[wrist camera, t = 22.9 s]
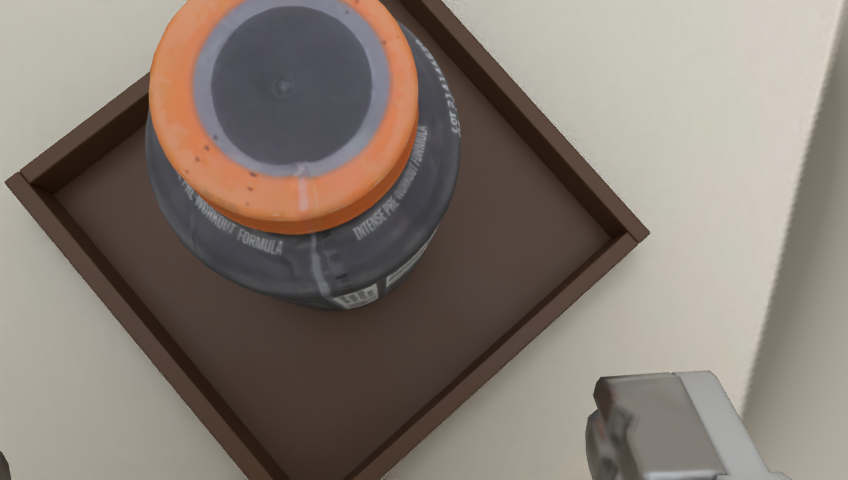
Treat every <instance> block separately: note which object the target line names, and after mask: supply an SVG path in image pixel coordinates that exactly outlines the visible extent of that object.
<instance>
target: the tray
mask: <svg viewBox="0 0 848 480" xmlns="http://www.w3.org/2000/svg"><path fill="white" fill-rule="evenodd" d="M379 1H380V2H381V3H382V4H383V5H384V6H385V7H386V9H387V10H388V11H389V12H390V14H391V15H392V16H393V17H394V18H395V19H396V20H397V21H399V22H400V23H402V24H403V25H404V26H405V27H407V28H408V29H409V30H410V31H411V32H412V33H413V34H414V35H415V36H416V37H417V38H418V39H419V40H420V41H421V42H422V43H423V44H424V46H425V47H426V48H427V49H428V51H429V52H430V53H431V54H432V56H433V57H434V59H435V60H436V62H437V63H438V65H439V67H440V68H441V70H442V72H443V74H444V76H445V78H446V80H447V82H448V84H449V87H450V90H451V92H452V95H453V98H454V101H455V105H456V109H457V113H458V117H459V123H460V135H461V156H460V168H459V173H458V177H457V181H456V187H455V190H454V193H453V196H452V198H451V201H450V204H449V206H448V209H447V211H446V213H445V214H444V216H443V218H442V220H441V221H440V224H439V226H438V228H437V230H436V232H435V234H434V236H433V238H432V239H431V241H430V242H429V244H428V246H427V248H426V250H425V252H424V253H423V255H422V257H421V259H420V260H419V262H418V264H417V265H416V267H415V268H414V270H413V271H412V272H411V274H410V275H409V276H408V277H407V278H406V279H405V280H404V282H403V283H402V284H401V285H400V286H399V287H397V288H396V289H395V290H394V291H392V292H391V293H389V294H388V295H386V296H384V297H383V298H381V299H379V300H377V301H375V302H373V303H371V304H368V305H365V306H362V307H358V308H353V309H348V310H340V311H323V310H316V309H311V308H307V307H302V306H299V305H296V304H293V303H290V302H286V301H283V300H279V299H276V298H273V297H269V296H267V295H264V294H260V293H256V292H254V291H252V290H249V289H247V288H244V287H241V286H239V285H238V284H235V283H233V282H231V281H229V280H227V279H225V278H224V277H222V276H220V275H219V274H217V273H216V272H214V271H212V270H211V269H209V268H208V267H207V266H206V265H204V264H203V263H202V262H201V261H200V260H199V259H198V258H196V257H195V256H194V255H193V254H192V253H191V252H190V251H189V250H188V249H187V248H186V247H185V246H184V245H183V244H182V243H181V241H180V240H179V239H178V237H177V236H176V234H175V233H174V232H173V230H172V229H171V227H170V226H169V225H168V223H167V221H166V219H165V217H164V216H163V214H162V212H161V210H160V208H159V206H158V203H157V201H156V198H155V195H154V193H153V190H152V188H151V184H150V180H149V176H148V171H147V164H146V153H145V129H146V123H147V117H148V110H149V83H150V72H149V73H147V74H146V75H145V76H143V77H142V78H141V79H139V80H138V81H137V82H136V83H134V84H133V85H132V86H130V87H129V88H128V89H126V90H125V91H124V92H122V93H121V94H120V95H118V96H117V97H116V98H114V99H113V100H112V101H110V102H109V103H108V104H107V105H105V106H104V107H103V108H101V109H100V110H99V111H97V112H96V113H95V114H93V115H92V116H91V117H89V118H88V119H87V120H85V121H84V122H83V123H81V124H80V125H79V126H78V127H76V128H75V129H74V130H72V131H71V132H70V133H68V134H67V135H66V136H64V137H63V138H62V139H60V140H59V141H58V142H56V143H55V144H54V145H52V146H51V147H50V148H49V149H47V150H46V151H45V152H43V153H42V154H41V155H39V156H38V157H37V158H35V159H34V160H33V161H31V162H30V163H29V164H27V165H26V166H25V167H23V168H22V169H21V170H20V172H17V173H15V174H14V175H13V176H11V177H10V178H9V179H7V180H6V181H5V184H6V185H7V187H8V188H9V189H10V190H11V191H12V193H13V194H14V195H15V196H16V197H17V199H18V200H19V201H20V202H21V204H22V205H23V206H24V207H25V208H26V210H27V211H28V212H29V213H30V214H31V216H32V217H33V218H34V219H35V221H36V222H37V223H38V224H39V225H40V227H41V228H42V229H43V230H44V231H45V233H46V234H47V235H48V236H49V237H50V239H51V240H52V241H53V242H54V244H55V245H56V246H57V247H58V248H59V250H60V251H61V252H62V253H63V254H64V256H65V257H66V258H67V259H68V261H69V262H70V263H71V264H72V265H73V267H74V268H75V269H76V270H77V271H78V273H79V274H80V275H81V276H82V278H83V279H84V280H85V281H86V282H87V284H88V285H89V286H90V287H91V288H92V290H93V291H94V292H95V293H96V294H97V296H98V297H99V298H100V299H101V301H102V302H103V303H104V304H105V305H106V307H107V308H108V309H109V310H110V311H111V313H112V314H113V315H114V316H115V318H116V319H117V320H118V321H119V322H120V324H121V325H122V326H123V327H124V328H125V330H126V331H127V332H128V333H129V335H130V336H131V337H132V338H133V339H134V341H135V342H136V343H137V344H138V345H139V347H140V348H141V349H142V350H143V351H144V353H145V354H146V355H147V356H148V358H149V359H150V360H151V361H152V362H153V364H154V365H155V366H156V367H157V368H158V370H159V371H160V372H161V373H162V375H163V376H164V377H165V378H166V379H167V381H168V382H169V383H170V384H171V385H172V387H173V388H174V389H175V390H176V392H177V393H178V394H179V395H180V396H181V398H182V399H183V400H184V401H185V402H186V404H187V405H188V406H189V407H190V408H191V410H192V411H193V412H194V413H195V415H196V416H197V417H198V418H199V419H200V421H201V422H202V423H203V424H204V425H205V427H206V428H207V429H208V430H209V432H210V433H211V434H212V435H213V436H214V438H215V439H216V440H217V441H218V442H219V444H220V445H221V446H222V447H223V449H224V450H225V451H226V452H227V453H228V455H229V456H230V457H231V458H232V459H233V461H234V462H235V463H236V464H237V465H238V467H239V468H240V469H241V470H242V472H243V473H244V474H245V475H246V476H247V478H248V479H249V480H379V479H380V478H381V477H383V476H384V475H385V474H386V473H387V472H388V471H389V470H390V469H391V468H392V467H394V466H395V465H396V464H397V463H398V462H399V461H400V460H401V459H402V458H403V457H405V456H406V455H407V454H408V453H409V452H410V451H411V450H412V449H413V448H415V447H416V446H417V445H418V444H419V443H420V442H421V441H422V440H423V439H424V438H426V437H427V436H428V435H429V434H430V433H431V432H432V431H433V430H434V429H435V428H437V427H438V426H439V425H440V424H441V423H442V422H443V421H444V420H445V419H446V418H448V417H449V416H450V415H451V414H452V413H453V412H454V411H455V410H456V409H457V408H459V407H460V406H461V405H462V404H463V403H464V402H465V401H466V400H467V399H469V398H470V397H471V396H472V395H473V394H474V393H475V392H476V391H477V390H478V389H480V388H481V387H482V386H483V385H484V384H485V383H486V382H487V381H488V380H489V379H491V378H492V377H493V376H494V375H495V374H496V373H497V372H498V371H499V370H500V369H502V368H503V367H504V366H505V365H506V364H507V363H508V362H509V361H510V360H512V359H513V358H514V357H515V356H516V355H517V354H518V353H519V352H520V351H521V350H523V349H524V348H525V347H526V346H527V345H528V344H529V343H530V342H531V341H532V340H534V339H535V338H536V337H537V336H538V335H539V334H540V333H541V332H542V331H543V330H545V329H546V328H547V327H548V326H549V325H550V324H551V323H552V322H553V321H555V320H556V319H557V318H558V317H559V316H560V315H561V314H562V313H563V312H564V311H566V310H567V309H568V308H569V307H570V306H571V305H572V304H573V303H574V302H575V301H577V300H578V299H579V298H580V297H581V296H582V295H583V294H584V293H585V292H586V291H588V290H589V289H590V288H591V287H592V286H593V285H594V284H595V283H596V282H597V281H599V280H600V279H601V278H602V277H603V276H604V275H605V274H606V273H607V272H609V271H610V270H611V269H612V268H613V267H614V266H615V265H616V264H617V263H618V262H620V261H621V260H622V259H623V258H624V257H625V256H626V255H627V254H628V253H629V252H631V251H632V250H633V249H634V248H635V247H636V246H637V245H638V243H640V242H642V241H643V240H644V239H645V238H646V237H647V236H648V235H649V234H650V232H649V230H648V229H647V228H646V227H645V226H644V225H643V224H642V223H641V222H640V220H639V219H638V218H637V217H636V216H635V215H634V214H633V213H632V212H631V210H630V209H629V208H628V207H627V206H626V205H625V204H624V203H623V202H622V200H621V199H620V198H619V197H618V196H617V195H616V194H615V193H614V192H613V190H612V189H611V188H610V187H609V186H608V185H607V184H606V183H605V182H604V180H603V179H602V178H601V177H600V176H599V175H598V174H597V173H596V172H595V170H594V169H593V168H592V167H591V166H590V165H589V164H588V163H587V162H586V160H585V159H584V158H583V157H582V156H581V155H580V154H579V153H578V152H577V150H576V149H575V148H574V147H573V146H572V145H571V144H570V143H569V142H568V141H567V139H566V138H565V137H564V136H563V135H562V134H561V133H560V132H559V131H558V129H557V128H556V127H555V126H554V125H553V124H552V123H551V122H550V121H549V119H548V118H547V117H546V116H545V115H544V114H543V113H542V112H541V111H540V109H539V108H538V107H537V106H536V105H535V104H534V103H533V102H532V101H531V99H530V98H529V97H528V96H527V95H526V94H525V93H524V92H523V91H522V89H521V88H520V87H519V86H518V85H517V84H516V83H515V82H514V81H513V79H512V78H511V77H510V76H509V75H508V74H507V73H506V72H505V71H504V69H503V68H502V67H501V66H500V65H499V64H498V63H497V62H496V61H495V59H494V58H493V57H492V56H491V55H490V54H489V53H488V52H487V51H486V49H485V48H484V47H483V46H482V45H481V44H480V43H479V42H478V41H477V40H476V38H475V37H474V36H473V35H472V34H471V33H470V32H469V31H468V30H467V28H466V27H465V26H464V25H463V24H462V23H461V22H460V21H459V20H458V18H457V17H456V16H455V15H454V14H453V13H452V12H451V11H450V10H449V8H448V7H447V6H446V5H445V4H444V3H443V2H442V1H441V0H379Z"/></svg>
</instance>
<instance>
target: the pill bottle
mask: <svg viewBox="0 0 848 480" xmlns="http://www.w3.org/2000/svg"><path fill="white" fill-rule="evenodd" d="M145 153H146V164H147V171H148V176H149V180H150V184H151V188H152V190H153V193H154V195H155V198H156V201H157V203H158V206H159V208H160V210H161V212H162V214H163V216H164V217H165V219H166V221H167V223H168V225H169V226H170V227H171V229H172V230H173V232H174V233H175V234H176V236H177V237H178V239H179V240H180V241H181V243H182V244H183V245H184V246H185V247H186V248H187V249H188V250H189V251H190V252H191V253H192V254H193V255H194V256H195V257H196V258H198V259H199V260H200V261H201V262H202V263H203V264H204V265H206V266H207V267H208V268H209V269H211V270H212V271H214V272H216V273H217V274H219V275H220V276H222V277H224V278H225V279H227V280H229V281H231V282H233V283H235V284H238V285H239V286H241V287H244V288H247V289H249V290H252V291H254V292H256V293H260V294H264V295H267V296H269V297H273V298H276V299H279V300H283V301H286V302H290V303H293V304H296V305H299V306H302V307H307V308H311V309H316V310H323V311H340V310H348V309H353V308H358V307H362V306H365V305H368V304H371V303H373V302H375V301H377V300H379V299H381V298H383V297H384V296H386V295H388V294H389V293H391V292H392V291H394V290H395V289H396V288H397V287H399V286H400V285H401V284H402V283H403V282H404V280H405V279H406V278H407V277H408V276H409V275H410V274H411V272H412V271H413V270H414V268H415V267H416V265H417V264H418V262H419V260H420V259H421V257H422V255H423V253H424V252H425V250H426V248H427V246H428V244H429V242H430V241H431V239H432V238H433V236H434V234H435V232H436V230H437V228H438V226H439V224H440V221H441V220H442V218H443V216H444V214H445V213H446V211H447V209H448V206H449V204H450V201H451V198H452V196H453V193H454V190H455V187H456V181H457V177H458V173H459V168H460V156H461V135H460V123H459V117H458V113H457V109H456V105H455V101H454V98H453V95H452V92H451V90H450V87H449V84H448V82H447V80H446V78H445V76H444V74H443V72H442V70H441V68H440V67H439V65H438V63H437V62H436V60H435V59H434V57H433V56H432V54H431V53H430V52H429V51H428V49H427V48H426V47H425V46H424V44H423V43H422V42H421V41H420V40H419V39H418V38H417V37H416V36H415V35H414V34H413V33H412V32H411V31H410V30H409V29H408V28H407V27H405V26H404V25H403V24H402V23H400V22H399V21H397V20H396V19H395V18H394V17H393V16H392V15H391V14H390V12H389V11H388V10H387V9H386V7H385V6H384V5H383V4H382V3H381V2H380V1H379V0H188V1H187V2H186V4H185V5H184V6H183V7H182V8H181V9H180V10H179V11H178V12H177V13H176V15H175V16H174V17H173V19H172V20H171V21H170V23H169V24H168V26H167V27H166V30H165V32H164V34H163V36H162V38H161V40H160V42H159V45H158V47H157V49H156V51H155V53H154V57H153V61H152V65H151V70H150V83H149V110H148V117H147V123H146V129H145Z"/></svg>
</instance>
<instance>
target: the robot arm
mask: <svg viewBox="0 0 848 480" xmlns="http://www.w3.org/2000/svg"><path fill="white" fill-rule="evenodd" d="M593 397H594V399H595V402H596V405H597V408H598V409H597V410H596V411H595V412H593V413H592V414H591V415H590V416H589V417H588V421H587V427H586V432H585V437H586V455H587V460H588V465H589V470H590V473H591V476H592V480H792V479H791V478H789V477H788V476H786V475H785V474H784V473H782V472H770V471H769V469H768V467H767V466H766V464H765V462H764V460H763V458H762V457H761V455H760V453H759V451H758V450H757V448H756V446H755V444H754V442H753V441H752V439H751V437H750V435H749V434H748V432H747V430H746V428H745V426H744V425H743V423H742V421H741V419H740V417H739V416H738V414H737V412H736V410H735V408H734V407H733V405H732V403H731V401H730V399H729V398H728V396H727V394H726V392H725V391H724V389H723V387H722V385H721V383H720V382H719V380H718V378H717V376H716V375H714V374H713V373H712V372H711V371H694V372H676V373H669V372H667V373H652V374H638V375H623V376H609V377H600V379H599V380H598V381H597V383H596V386H595V390H594V394H593ZM0 480H11V475H10V470H9V465H8V462H7V461H6V459H5V457H4V455H3V453H2V452H1V451H0Z"/></svg>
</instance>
